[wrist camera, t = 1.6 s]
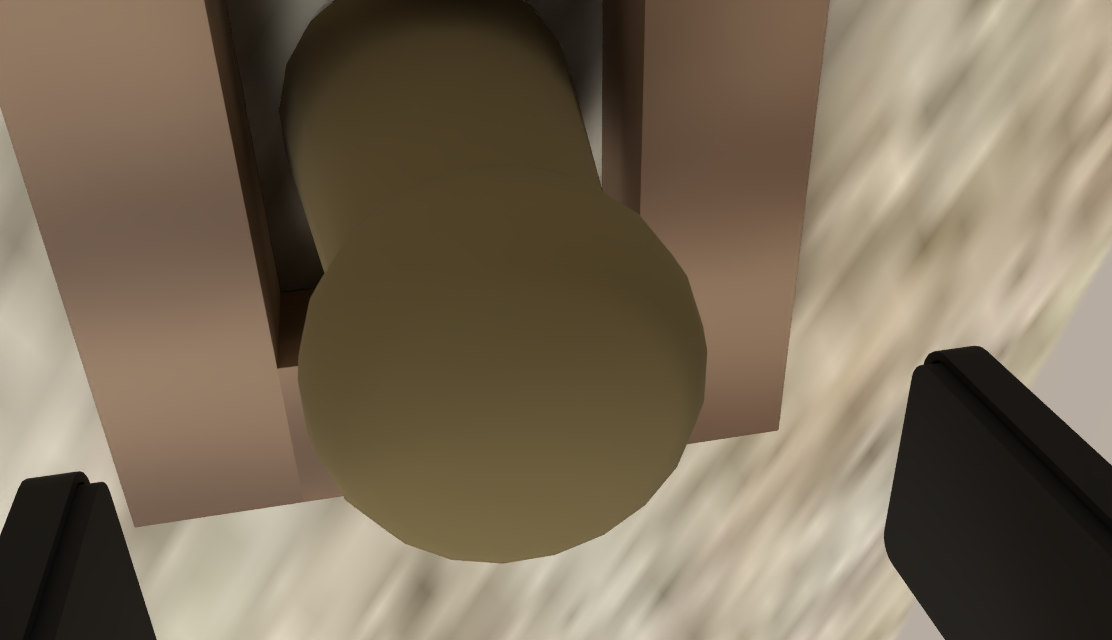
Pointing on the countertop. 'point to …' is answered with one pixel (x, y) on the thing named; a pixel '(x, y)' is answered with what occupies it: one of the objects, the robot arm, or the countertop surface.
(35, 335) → the countertop surface
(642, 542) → the countertop surface
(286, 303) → the socket block
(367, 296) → the cork
